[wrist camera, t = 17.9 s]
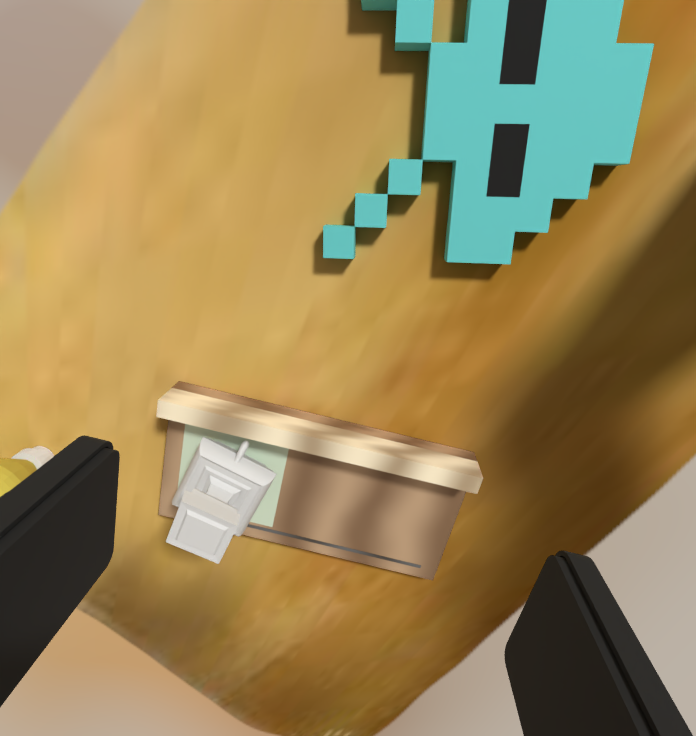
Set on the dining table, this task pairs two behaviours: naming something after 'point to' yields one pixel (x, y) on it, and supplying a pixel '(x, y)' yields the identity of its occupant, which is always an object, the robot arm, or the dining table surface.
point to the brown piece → (335, 480)
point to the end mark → (257, 450)
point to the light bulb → (21, 466)
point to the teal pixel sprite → (512, 117)
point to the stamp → (217, 498)
